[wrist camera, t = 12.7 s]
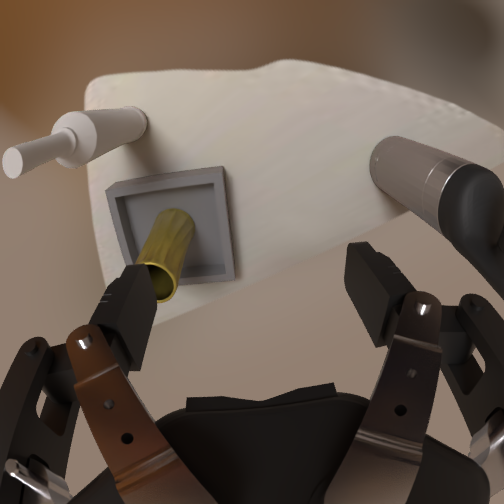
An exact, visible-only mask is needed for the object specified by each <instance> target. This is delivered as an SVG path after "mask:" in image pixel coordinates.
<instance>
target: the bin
mask: <svg viewBox="0 0 504 504" xmlns="http://www.w3.org/2000/svg"><path fill="white" fill-rule="evenodd" d="M105 192H106V196H107V200H108V204H109V208H110V212H111V216H112V220H113V224H114V227H115V231H116V234H117V238H118V241H119V245H120V248H121V251H122V255H123V258H124V261H125V264H126V266H127V265H132V264H135V263H136V261H137V259H138V257H139V255H140V252H141V250H142V248H143V246H144V244H145V242H146V240H147V238H148V236H149V233H150V231H151V229H152V227H153V225H154V222H155V219H156V217H157V216H158V215H159V214H160V213H161V212H162V211H164V210H166V209H171V208H176V209H180V210H183V211H184V212H186V213H187V214H188V215H189V216H190V217H191V218H192V220H193V222H194V225H195V233H194V236H193V238H192V239H191V241H190V243H189V245H188V249H187V252H186V255H185V259H184V263H183V267H182V270H181V274H180V278H179V283H178V285H188V284H200V283H211V282H222V281H232V280H235V263H234V255H233V247H232V239H231V231H230V223H229V214H228V206H227V197H226V189H225V180H224V171H223V166H218V167H209V168H201V169H194V170H186V171H179V172H172V173H166V174H160V175H153V176H148V177H142V178H136V179H131V180H125V181H120V182H115V183H114V184H113V185H112V186H110V187H109V188H108V189H106V190H105Z"/></svg>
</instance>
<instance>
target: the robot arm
mask: <svg viewBox="0 0 504 504" xmlns="http://www.w3.org/2000/svg"><path fill="white" fill-rule="evenodd" d="M370 173H371V177H372V179H373V181H374V183H375V184H376V185H377V186H378V187H379V188H380V189H381V190H383V191H384V192H386V193H387V194H388V195H390V196H391V197H393V198H394V199H395V200H397V201H398V202H400V203H401V204H402V205H404V206H405V207H406V208H408V209H409V210H411V211H412V212H413V213H415V214H416V215H417V216H419V217H420V218H421V219H422V220H424V221H425V222H426V223H428V224H429V225H430V226H432V227H433V228H434V229H436V230H437V231H438V232H439V233H440V234H442V235H443V236H444V237H445V238H446V239H448V240H449V241H450V242H451V243H452V245H453V246H454V247H455V249H456V250H457V251H458V252H459V253H460V254H461V255H463V256H464V257H465V258H466V259H467V260H468V261H469V262H470V263H471V264H472V265H473V266H474V267H475V268H476V269H477V270H478V272H479V273H480V274H481V275H482V276H483V277H484V278H485V279H486V281H487V282H488V283H489V284H490V285H491V286H492V287H493V289H494V290H495V291H496V292H497V293H498V294H499V295H500V296H501V298H502V299H503V300H504V188H503V185H502V183H501V181H500V180H499V178H498V177H497V176H496V175H495V174H494V173H493V172H492V171H490V170H488V169H487V168H484V167H482V166H480V165H477V164H475V163H473V162H470V161H468V160H465V159H463V158H460V157H458V156H455V155H452V154H450V153H447V152H444V151H442V150H439V149H436V148H433V147H430V146H427V145H424V144H421V143H418V142H416V141H412V140H409V139H406V138H403V137H399V136H392V137H388V138H386V139H384V140H382V141H381V142H380V143H379V144H378V145H377V146H376V147H375V149H374V151H373V153H372V156H371V159H370ZM344 282H345V288H346V291H347V293H348V295H349V297H350V298H351V300H352V302H353V304H354V306H355V308H356V310H357V312H358V314H359V316H360V317H361V319H362V321H363V323H364V325H365V327H366V329H367V331H368V333H369V335H370V337H371V339H372V341H373V343H374V345H375V347H376V348H377V347H381V346H385V345H387V347H388V352H387V355H386V358H385V361H384V364H383V366H382V369H381V372H380V375H379V377H378V380H377V382H376V385H375V388H374V390H373V393H372V395H371V397H370V400H368V399H366V398H364V397H361V396H358V395H354V394H348V393H342V392H336V389H335V385H334V383H329V384H322V385H317V386H311V387H304V388H298V389H295V390H293V391H290V392H287V393H285V394H282V395H279V396H276V397H273V398H270V399H267V400H264V401H253V400H245V399H238V398H230V397H224V396H217V397H189V398H188V397H187V401H186V408H183V409H179V410H177V411H174V412H172V413H170V414H167V415H165V416H164V417H162V418H160V419H159V420H157V421H155V420H154V419H153V417H152V416H151V414H150V413H149V411H148V410H147V408H146V407H145V405H144V403H143V402H142V400H141V399H140V397H139V396H138V394H137V392H136V391H135V389H134V388H133V386H132V384H131V383H130V381H129V379H128V378H127V377H128V373H129V371H140V370H141V366H142V362H143V358H144V354H145V350H146V346H147V343H148V339H149V335H150V331H151V328H152V324H153V321H154V317H155V314H156V310H157V297H156V293H155V290H154V287H153V284H152V281H151V277H150V274H149V271H148V268H147V266H146V264H145V263H142V264H132V265H127V266H126V267H125V269H124V271H123V273H122V275H121V276H120V278H116V279H115V280H114V281H113V282H112V283H111V284H110V285H108V287H107V289H106V291H105V293H104V296H102V298H101V300H100V303H99V304H98V306H97V308H96V310H95V312H94V313H93V315H92V317H91V320H90V322H89V324H87V325H82V326H80V327H78V328H76V329H75V330H73V331H72V332H71V333H70V335H69V336H68V338H67V340H66V343H64V344H61V345H57V346H52V347H50V346H49V344H48V343H47V341H46V340H45V339H44V338H43V337H34V338H31V339H29V340H28V341H26V342H25V343H24V344H23V345H22V346H21V348H20V349H19V351H18V353H17V355H16V357H15V359H14V361H13V363H12V365H11V367H10V369H9V371H8V373H7V376H6V378H5V380H4V382H3V384H2V387H1V389H0V504H489V501H490V497H492V496H493V495H495V494H496V493H498V492H499V491H501V490H503V489H504V320H503V319H502V318H501V316H500V315H499V314H498V313H497V311H496V310H495V309H494V308H493V306H492V305H491V304H490V303H489V302H488V301H487V300H486V299H485V298H483V297H482V296H479V295H477V294H466V295H464V296H463V297H462V298H461V300H460V303H459V306H444V305H441V303H440V301H439V300H438V299H437V298H436V297H435V296H434V295H432V294H430V293H427V292H423V291H417V290H416V289H415V288H414V287H413V285H412V284H411V283H410V282H409V281H408V279H407V278H406V277H405V276H404V274H403V273H401V271H400V270H399V268H398V267H396V265H395V264H394V263H393V261H392V260H391V259H390V258H389V257H387V256H385V255H384V254H382V253H380V252H376V251H375V250H374V249H373V248H372V246H371V245H370V244H369V243H368V242H356V243H349V244H348V247H347V256H346V265H345V275H344ZM475 348H477V349H478V351H479V352H480V354H481V356H482V357H483V359H484V361H485V372H484V373H483V371H482V370H481V368H480V366H479V364H478V363H477V361H476V359H475V358H474V356H473V355H472V353H473V351H474V349H475ZM440 369H441V371H442V373H443V375H444V376H445V379H446V381H447V383H448V385H449V387H450V389H451V391H452V393H453V395H454V397H455V399H456V401H457V403H458V406H459V408H460V410H461V412H462V414H463V417H464V419H465V422H466V424H467V426H468V429H469V431H470V433H471V436H472V440H471V443H470V452H469V454H468V457H467V456H465V455H464V454H461V453H459V452H458V451H456V450H454V449H452V448H451V447H449V446H447V445H445V444H443V443H441V442H440V441H438V440H436V439H434V438H433V437H431V436H429V435H427V434H426V431H427V427H428V423H429V420H430V415H431V411H432V407H433V402H434V398H435V393H436V388H437V382H438V377H439V371H440ZM41 390H42V391H43V392H44V393H45V394H46V395H47V397H46V400H45V403H44V406H43V409H42V412H41V415H40V418H39V417H38V415H37V412H36V405H37V401H38V399H39V396H40V393H41ZM80 406H81V408H82V411H83V413H84V416H85V418H86V420H87V423H88V425H89V428H90V430H91V432H92V434H93V437H94V439H95V441H96V443H97V445H98V447H99V449H100V451H101V453H102V455H103V458H104V459H105V461H106V463H107V465H108V467H107V468H106V469H105V470H104V471H103V472H102V473H100V474H99V475H98V476H97V477H96V478H95V479H94V480H93V481H92V482H90V483H89V484H88V485H87V486H86V487H85V488H84V489H82V490H81V491H80V492H79V493H78V494H77V495H76V496H74V497H72V495H71V494H70V493H69V488H68V486H67V483H66V482H65V474H66V468H67V462H68V457H69V452H70V447H71V442H72V437H73V433H74V429H75V424H76V420H77V416H78V412H79V408H80Z"/></svg>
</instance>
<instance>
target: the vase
mask: <svg viewBox="0 0 504 504" xmlns="http://www.w3.org/2000/svg"><path fill="white" fill-rule="evenodd" d="M194 233H195V225H194V222H193V220H192V218H191V217H190V216H189V215H188V214H187V213H186V212H184V211H183V210H180V209H176V208H171V209H166V210H164V211H162V212H161V213H160V214H159V215H158V216H157V217H156V219H155V222H154V225H153V227H152V229H151V231H150V233H149V236H148V238H147V240H146V242H145V244H144V246H143V248H142V250H141V252H140V255H139V257H138V259H137V261H136V263H135V264H142V263H145V264H146V266H147V268H148V271H149V274H150V277H151V281H152V284H153V287H154V290H155V293H156V297H157V303H163V302H166V301H168V300H170V299H171V298H172V297H173V295H174V294H175V292H176V290H177V287H178V283H179V278H180V274H181V270H182V267H183V263H184V259H185V255H186V252H187V249H188V245H189V243H190V241H191V239H192V238H193V236H194Z"/></svg>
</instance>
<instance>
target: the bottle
mask: <svg viewBox="0 0 504 504" xmlns="http://www.w3.org/2000/svg"><path fill="white" fill-rule="evenodd" d="M146 125H147V120H146V116H145V114H144V113H143V112H142V110H140V109H138V108H136V107H133V106H125V107H123V108H120V109H102V110H87V111H76V112H69V113H67V114H65V115H63V116H62V117H60V118H59V120H58V121H57V122H56V123H55V125H54V127H53V130H52V133H51V135H50V136H46V137H43V138H40V139H37V140H34V141H31V142H25V143H22V144H19V145H17V146H14V147H11V148H9V149H8V150H6V152H5V153H4V156H3V160H2V161H3V169H4V172H5V173H6V175H7V176H8V177H10V178H17V177H19V176H20V175H22V174H24V173H26V172H28V171H31V170H32V169H34V168H35V167H37V166H39V165H41V164H44V163H46V162H48V161H51V160H53V159H56V160H57V161H58V163H59V164H61V165H63V166H65V167H66V168H78V167H80V166H83V165H85V164H87V163H88V162H90V161H92V160H94V159H96V158H98V157H99V156H101V155H103V154H105V153H107V152H109V151H111V150H113V149H115V148H117V147H119V146H121V145H123V144H125V143H131V142H133V141H136V140H137V139H139V138H140V137H141V136H142V135H143V133H144V131H145V129H146Z"/></svg>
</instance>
